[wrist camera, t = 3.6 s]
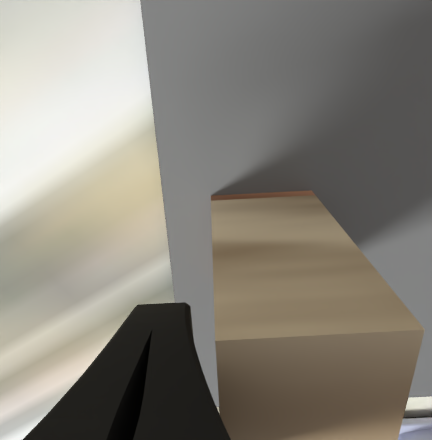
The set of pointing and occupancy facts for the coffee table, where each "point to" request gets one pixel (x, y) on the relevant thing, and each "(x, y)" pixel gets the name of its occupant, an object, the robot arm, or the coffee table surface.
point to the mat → (296, 133)
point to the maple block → (304, 325)
